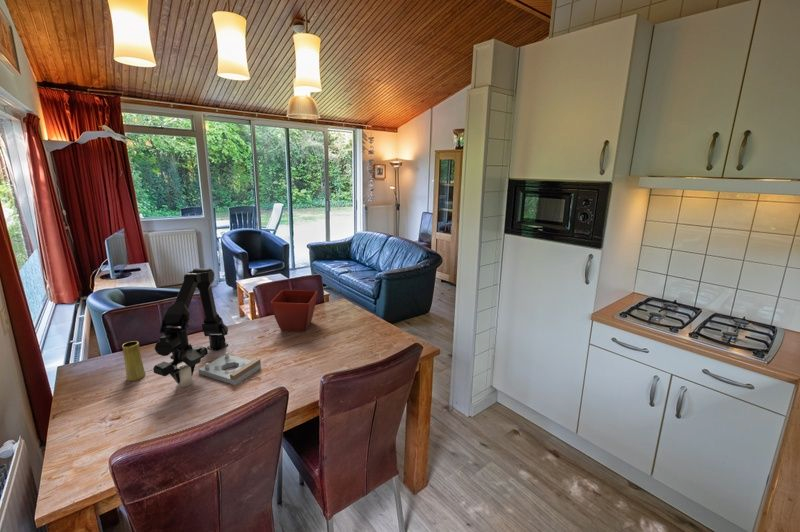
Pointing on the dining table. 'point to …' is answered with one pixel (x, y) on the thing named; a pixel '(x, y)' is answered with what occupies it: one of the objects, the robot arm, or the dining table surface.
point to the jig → (231, 376)
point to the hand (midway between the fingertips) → (184, 379)
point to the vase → (133, 361)
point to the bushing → (185, 375)
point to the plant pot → (294, 309)
